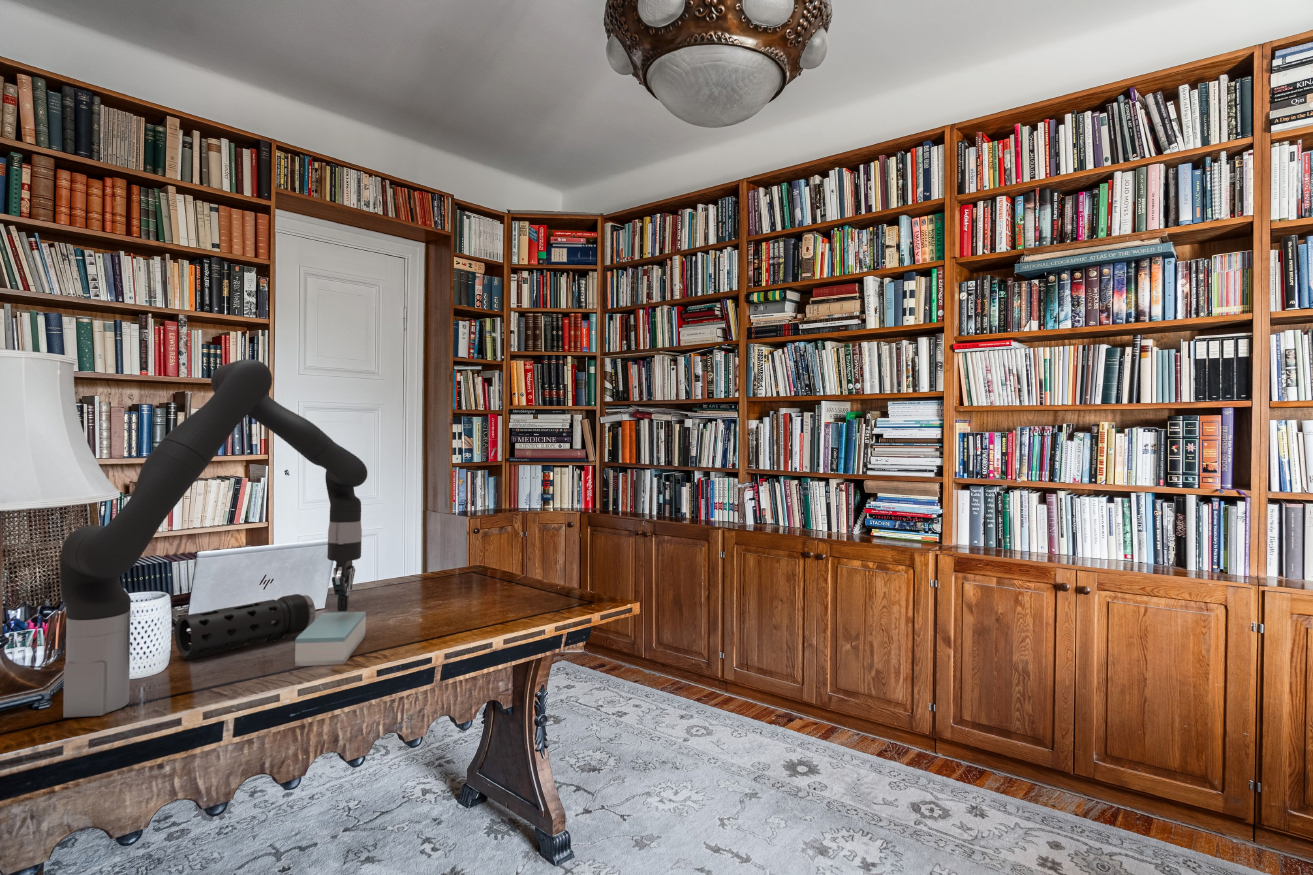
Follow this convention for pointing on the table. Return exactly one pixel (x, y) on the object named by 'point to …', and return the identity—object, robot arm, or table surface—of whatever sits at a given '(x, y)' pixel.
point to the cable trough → (329, 649)
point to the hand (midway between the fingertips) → (342, 610)
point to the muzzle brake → (242, 625)
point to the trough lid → (331, 627)
